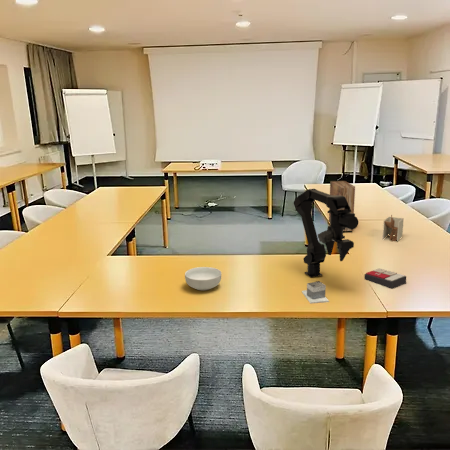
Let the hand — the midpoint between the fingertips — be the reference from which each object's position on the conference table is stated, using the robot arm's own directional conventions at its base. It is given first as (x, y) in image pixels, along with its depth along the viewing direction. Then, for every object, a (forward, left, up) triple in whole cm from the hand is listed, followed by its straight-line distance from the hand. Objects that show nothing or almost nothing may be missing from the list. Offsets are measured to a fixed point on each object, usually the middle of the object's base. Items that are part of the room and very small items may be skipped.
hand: (335, 258), depth 200 cm
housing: (+9, -15, -12) cm, 21 cm away
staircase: (-49, +72, -14) cm, 88 cm away
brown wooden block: (-83, +58, -13) cm, 102 cm away
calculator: (+5, +24, -14) cm, 28 cm away
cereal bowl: (-21, -56, -13) cm, 61 cm away
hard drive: (+8, -15, -14) cm, 22 cm away
